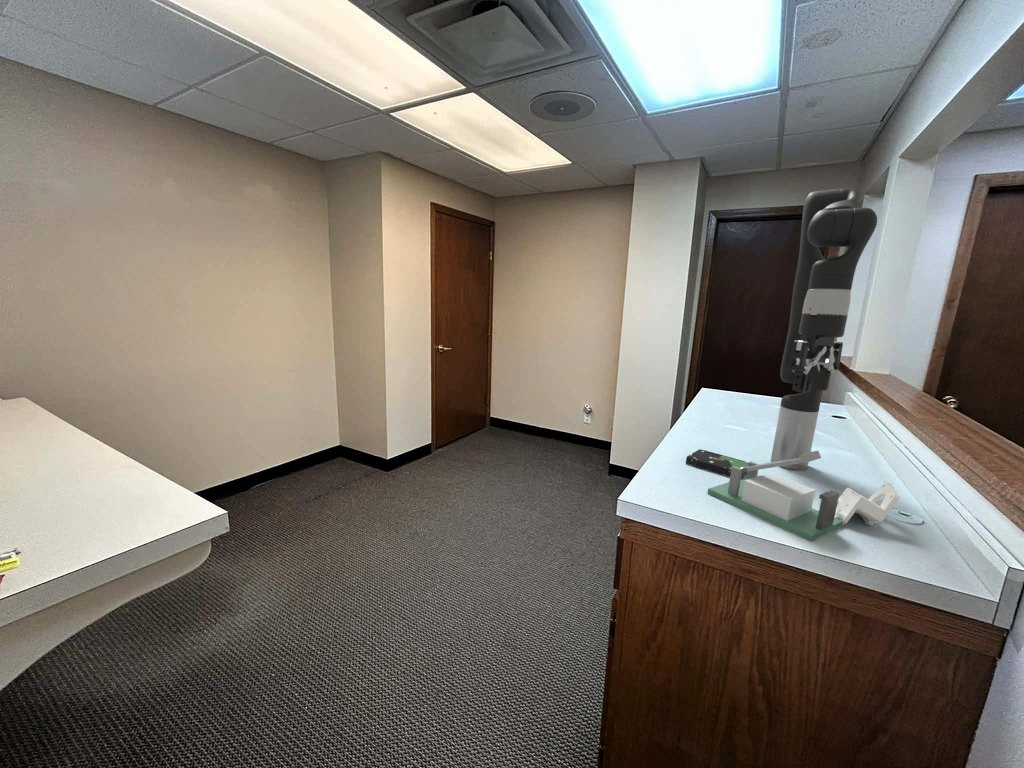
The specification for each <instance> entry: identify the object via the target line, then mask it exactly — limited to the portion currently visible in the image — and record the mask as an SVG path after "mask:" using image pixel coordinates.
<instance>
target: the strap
mask: <svg viewBox="0 0 1024 768" xmlns="http://www.w3.org/2000/svg"><path fill="white" fill-rule="evenodd" d="M799 457H800V458H795V459H789V460H783V461H777V462H772V461H771V462H766V463H761V464H760V463H758V464H759V465H753V466H752V465H748V466H745V467H741V469H742V473H743V472H747V471H753V470H758V471H760V470H765V469H771V468H776V467H778V468H779V467H782V466H785V465H792V464H798V463H805V462H813V461H816V460H820V459H822V457H821V453H820V452H819V450H814V451H811V452H809V453H805V454H802V455H799Z"/></svg>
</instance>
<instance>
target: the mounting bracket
mask: <svg viewBox="0 0 1024 768" xmlns="http://www.w3.org/2000/svg"><path fill="white" fill-rule="evenodd" d="M882 498H884V499H883V501H882V502H881V503H880V505H878V504H877V503H878V502H879V501H880V500H881V499H882ZM900 498H901V497H900V494H899V493H898V492H897V491H896V489H895V487H894V486H893V485H892V483H890V482H888V481H886V482H884V483H883V484H882V485H881V486H880V487H879V488H878V489H876V491H875V492H874V493H873V494H872V495H871V496H870V497H869V498H867V497H865V496H863V495H861V494H860V493H858V492H856V491H855V490H853V489H851V488H850V487H847V488H845V489H844V491H843V492H842V493H841V495H839V498H838V503H837V507H836V512H835V516H834V517H835V518H838V519H840V520H842V521H843V524H842V526H844V525H845V524H847V523H848V522H849V521H850V519H851V518H852V517H853V515H854V514H855V513H856V514H857V515H859V516H860V517H862V520H863V522H864V524H866V525H868V526H869V527H871V526H873V525H874V524H877V525H879V524H881V523H882V522H884V520H885V519H886V517H887V516H888V514H889V513H890V512H891V511H892V509H893V508H894V507H895V505H896V504H897V503H898V502H899V500H900Z"/></svg>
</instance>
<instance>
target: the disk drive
mask: <svg viewBox="0 0 1024 768" xmlns="http://www.w3.org/2000/svg"><path fill="white" fill-rule="evenodd" d="M749 462H750V461H745V460H742V459H737V458H735V457H731V456H726V455H723V454H720V453H716V452H713V451H709V450H705V449H701V448H700V449H698V450H696V451H694V452H692V453H691V454H689V455H687V456H686V458H685V464H686V465H689V466H691V467H695V468H699V469H702V470H706V471H709V472H712V473H716V474H719V475H722V476H726V477H729V478H730V475H731V469H732V467H733V466H735V467H738V468H741V467H745V466H748V464H749ZM746 474H747V472H743V473H742V475H741V480H743V478H745V477H746V476H747V475H746Z"/></svg>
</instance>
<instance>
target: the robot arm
mask: <svg viewBox="0 0 1024 768" xmlns="http://www.w3.org/2000/svg"><path fill="white" fill-rule="evenodd" d="M859 194H860V193H859V191H858V190H856V189H855V188H852V187H846V188H845V187H844V188H835V189H834V188H833V189H826V190H824V189H823V190H817V191H815V190H814V191H812V192H810V193H808V195H807V196H806V198H805V200H804V204H803V209H802V215H801V216H802V217H801V231H800V243H799V244H800V245H799V252H798V253H799V254H798V261H797V262H798V263H797V267H796V272H795V278H794V284H793V289H792V296H791V297H792V298H791V304H790V305H791V306H790V314H789V315H790V316H789V322H788V324H789V325H788V331H787V335H786V340H785V345H784V351H783V354H782V360H781V364H780V373H779V374H780V379H781V381H782V382H783V383H787V384H792V387H791V390H792V391H794V392H798V393H795V394H794V393H793V394H787V395H783V396H782V397H781V400H780V406H779V410H778V411H779V412H778V415H777V416H778V417H777V423H776V429H775V435H774V440H773V446H772V451H771V455H770V456H771V457H770V461H771V462H777V461H783V460H789V459H795V458H800V457H799V455H802V454H805V453H809V452H812V447H813V442H814V437H815V431H816V428H817V423H818V417H819V412H820V408H821V407H820V406H821V401H822V395H823V391H828V389H829V385H830V379H831V375H832V374H833V373H834V371H838V370H839V368H840V364H841V357H842V353H843V347H844V346H843V345H844V343H843V342H842V341H835V338H842V337H844V336H845V330H846V326H847V321H848V315H849V312H850V306H851V298H852V297H851V292H852V291H851V290H852V287H853V282H854V278H855V273H856V269H857V266H858V263H859V260H860V259H861V256H862V254H863V252H864V250H865V248H866V246H867V244H868V242H869V241H870V240H871V238H872V236H873V234H874V233H875V230H876V228H877V225H878V216H877V214H876V212H875V211H874V209H872V208H870V207H860V195H859ZM845 247H847V250H846V251H845V252H844V253H843V254H841V255H838V256H836V257H832V258H831V257H830V258H824V256H823V254H822V252H821V250H820V248H845ZM807 386H808V390H806V389H807V388H806V387H807ZM809 464H810V463H809V462H805V463H798V464H792V465H785V466H781V467H782V468H786V469H790V470H797V471H800V470H801V471H803V470H804V471H805V470H807V469H809V468H808V467H809Z"/></svg>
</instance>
